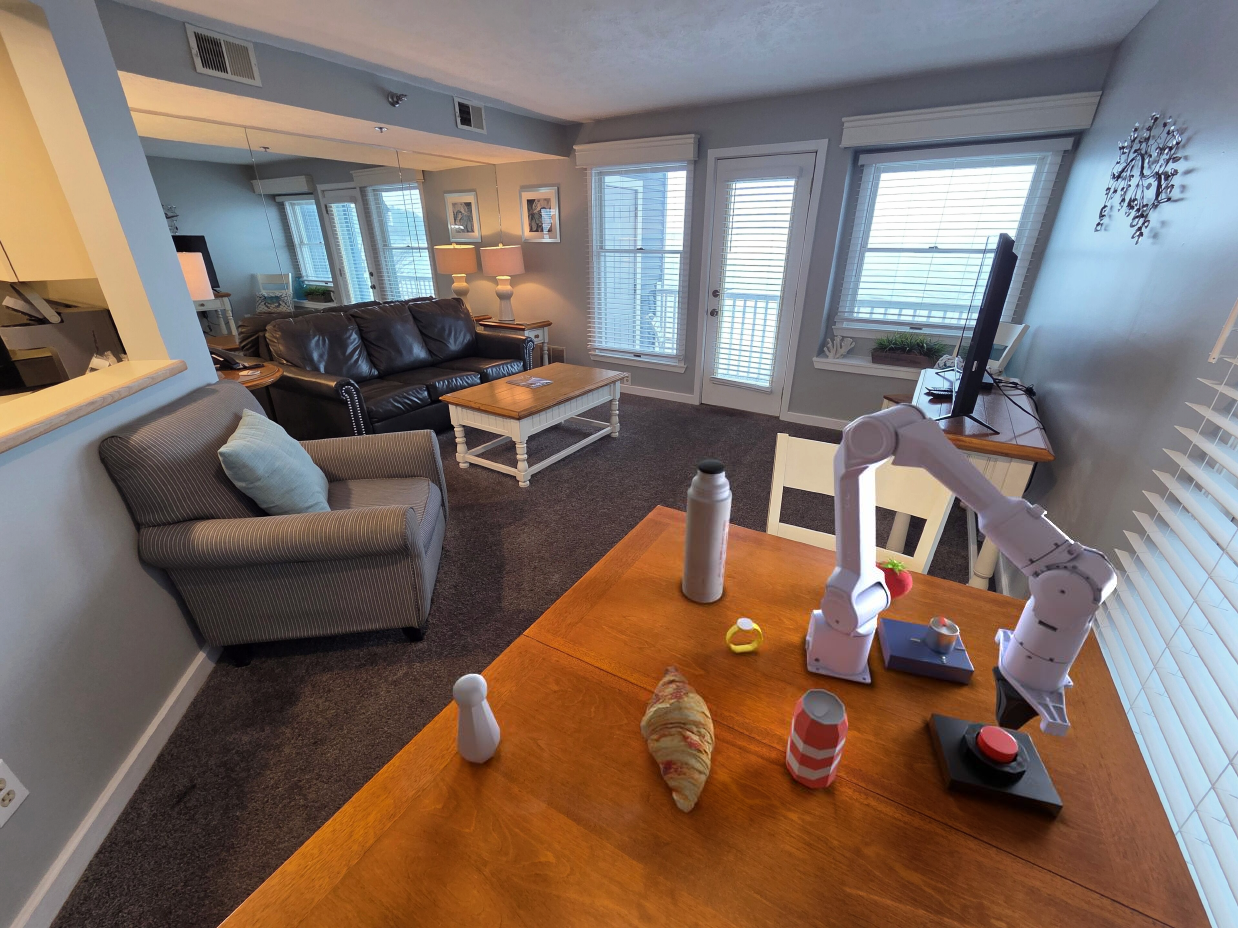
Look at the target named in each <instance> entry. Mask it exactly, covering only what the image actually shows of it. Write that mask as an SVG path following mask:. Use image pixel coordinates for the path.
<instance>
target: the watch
mask: <svg viewBox="0 0 1238 928" xmlns="http://www.w3.org/2000/svg"><path fill="white" fill-rule="evenodd" d="M752 631H756V632H757V636H756V638H755V640H754V641H751V643H749V644H742V645H741V644H740V645H734V644H732V643H731V641H732V638H733V637H734V635H735V634H737V633H738V632H741V633H751V632H752ZM725 640H726V641H725V642H727V645H728V648H729V649H730V650H731V652H733V653H736V654H740V653H741V654H742V653H749V652H754V651H755V650H757V649H758V648H759V647H760V646H761V644H762V642H763V640H764V638H763V632H762V630H761V628H760V627H759V625H758V624H756V623H754V621H752V619H750V618H747V617H741V618H739V619H737V621H736V624H733V625H732V626H731V627H730V628H729V629H728V631H727V632H726V637H725Z"/></svg>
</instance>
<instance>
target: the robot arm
mask: <svg viewBox="0 0 1238 928" xmlns="http://www.w3.org/2000/svg"><path fill="white" fill-rule="evenodd" d="M892 457H893V459H892V461H891V463H890V465H891V466H894V467H905V468H917V469H918V468H919V469H923V470H925V472H927V473H928V474H930V475H931V476H932V477H933V478H934V479H935V480H937V481H938V482H939V483H940V484H941V485H943V486H944V487H945V488H946V489H947V490H948V491H950V492H951V493H952V494H953V495H955V496H956V497H957V498H958V499H959V500H961V502H963V503H964V504H965V505H966V506H968V507H969V508H970V509H971V510H972V511H973V512H975V513H976V514H977V521H978V522H977V523H978V529H979V531H980V532H981V533H982V534H983V535H984V536H985V537H986V538H987V539H988V540H989V541H990V542H991V543H992V544H993V545H994V546H995V547H997V548H998V549H999V550H1000V552H1002V553H1003V555H1005V557H1006V558H1008V559H1009V560H1010V561H1011V562H1012V563H1013V564H1014V565H1015V566H1016V567H1017V568H1018V569H1020V571H1021V572H1023V574H1024V575H1026V576H1027V578H1028V589H1029V591H1030V594H1031V596H1030V599H1028V601H1026V604H1025V605H1024V606H1025V607H1024V608H1023V611H1022V612H1021V615H1020V617H1019V619H1018V622H1017V625H1016V627H1015V629H1014V630H1009V629H1005V628H998V630H997V633H996V635H995V637H994V640H995V643H996V644H997V645H998V646H999V653H998V665H995V666H994V665H993V667H992V668H991V672H992V676H993V678H994V682H995V690H996V691H995V692H996V697H995V698H996V699H995V700H996V701H995V719H996V722H997V724H998V727H999V728H1003V729H1007V730H1012V731H1018V730H1020V729H1021V728H1022V727H1024V725H1026V724H1027V723H1028V722H1030V721H1031V720H1033V719H1034V718H1037V717H1038V716H1040V718H1041V722H1040V724H1039V728H1040V730H1041V732H1042V733H1043V734H1046V735H1050V736H1054V737H1061V738H1065V737H1066V735H1067V733H1068V732H1069V730H1070V728H1071V723H1070V721H1069V719H1068V717H1067V712H1066V700H1065V690H1071V689H1072V688H1073V687H1074V682H1073V681H1072V679H1071V678H1070V676H1069V675H1068V674H1069V671H1070V670H1071V668H1072V666H1073V665H1074V662H1075V660H1076V659H1077V656H1078V654H1079V652H1080V651H1081V649H1082V647H1083V644H1084V643H1085V640H1086V639H1087V637H1088V635H1089V633H1090V632H1091V629H1092V623H1093V622H1094V620H1095V619H1096V617H1097V611H1098V610H1099V609H1100V605H1101V604H1102V603H1103V602H1104V601H1105V600H1106V599H1107V597H1108V596H1109V595H1110V594H1111V593H1112V592H1113V591H1114V589H1115V588H1116V585H1117V583H1118V572H1117V569H1116V567H1115V565H1113V563H1112V562H1111V561H1110V560H1109V559H1108V557H1107V555H1106V554H1105V553H1103V552H1101V551H1099V550H1097V549H1094V548H1092V547H1088V546H1085V545H1082V544H1081V543H1080V542H1079V541H1073V540H1072V539H1070V538H1069V537H1068V536H1067V535H1066V534H1065V533H1064V532H1062V531H1061V530H1060V529H1059V528H1058V527H1057V526H1056V525H1055V524H1054V523H1052V522H1051V521H1050V520H1049V519H1048V518H1046V517H1045V516H1044V515H1046V514H1047V511H1046V509H1044V508H1043V507H1042V506H1040V505H1039V504H1038V503H1035V504H1033V505H1032V504H1030V503H1029V501H1028V500H1026V499H1025V498H1021V497H1013V496H1007V495H1004V493H1002V492H1001V490H999V489H998V487H996V485H994V484H993V483H992V482H991V481H990V479H988V477H987V476H985V475H984V474H983V473H982V472H981V470H979V469H978V468H977V466H976V465H974V463H972V462H971V461H970V460H969V458H967V457H966V455H965V454H964V453H963V452H962V451H961V450H959V448H957V446H956V445H955V444H954V443H953V442H952V441H951V440H950V439H949V438H948V437H947V436H946V434H945V433H944V431H943V429H942V427H941V425H940V423H939V422H938V421H936V420H935V419H934V418H932V417H930V416H929V417H928V415H927V413H926V412H925V411H924V410H923V409H922V408H921V407H920V406H917V405H916V404H913V403H909V402H908V403H906V402H903V403H897V404H895V405H893V406H891V407H889V408H886V409H883V410H880V411H877V412H874V413H871V414H864V415H862V416H860V417H857V418H856V419H855V420H854V421H852V422H851V423H848V425H847V426H845V427H844V428H843V429H842V440H841V442H840V444H839V445H838V447H837V450H836V451H835V454H834V456H833V459H832V462H833V463H832V465H833V491H834V492H833V493H834V526H835V527H834V528H835V529H834V530H835V532H834V533H835V562H836V563H835V564H836V566H835V568H834V570H833V571H832V573H831V574H830V576H829V577H828V579H827V581H826V583H825V587H824V588H825V589H824V590H825V592H824V595H823V597H822V598H821V600H820V609H813V610H812V612H811V615H810V619H809V624H808V629H807V635H806V637H805V650H806V665H807V667H806V668H807V671H808V672H810V673H816V674H819V675H825V676H830V677H834V678H839V679H843V680H848V681H854V682H859V683H863V684H871V681H872V679H871V674H870V670H869V664H868V658H869V654H870V650H871V646H872V643H873V639H874V637H875V632H876V630H877V629H876V628H877V626H878V625H877V622H878V621H877V619H878V616H879V613H881V612H884V611H886V610H887V609H888V607H890V604H891V600H890V594H889V591H888V589H887V587H886V584H885V581H884V573H883V572H882V571H881V570H879V569H878V568H876V567H875V565H876V484H875V483H876V482H875V481H876V480H875V479H876V478H875V477H876V475H875V472H876V469H878V467H880V466H881V465H882V464H884V463H886V462H887V461H888V460H890V459H891V458H892Z"/></svg>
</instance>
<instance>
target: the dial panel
mask: <svg viewBox="0 0 1238 928" xmlns="http://www.w3.org/2000/svg"><path fill="white" fill-rule="evenodd" d="M928 627H929V625H927V624H920V623H915V622H910V621H904V620H898V619H893V618H887V617H880V619H879V622H878V625H877V634H878V638H879V642H880V647H881V652H882V655H883V659H884V660H883V661H884V664H885V667H886V669H891V670H895V671H901V672H906V673H911V674H915V675H921V676H924V677H925V676H926V677H930V678H931V677H932V678H935V679H942V680H946V681H951V682H954V683H959V684H966V685H970V682H971V681H972V678H973V675H974V672H975V668H974V667H973V665H972V663H971V661H970V658H969V655H968V653H967V651H968V650H967V648H965V645H964V643H963V642H962V640H961V636H960V633H958V635H957V638H956V641H955V644H954V646H953V649H952V651H951V652H950V653H939V652H936V651H934V650H932V649H931V648H929V647H928V646H927V645H926V643H925V636H926V633H927V630H928Z"/></svg>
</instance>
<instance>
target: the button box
mask: <svg viewBox="0 0 1238 928" xmlns="http://www.w3.org/2000/svg"><path fill="white" fill-rule="evenodd" d="M928 719H929V720H928V722H927V725H928V728H929V732H930V735H931V738H932V741H933V742H932V743H933V746H934V749H935V752H936V756H937V759H938V763H939V767H940V769H941V773H942V776H943V780H944V783H945V786H946V789H947V790H948V791H953V792H956V793H959V794H963V795H968V796H972V797H976V798H980V799H984V800H988V801H992V802H995V803H1000V804H1004V805H1007V806H1012V807H1016V808H1020V809H1023V810H1028V811H1031V812H1036V813H1040V814H1044V815H1049V816H1050V817H1051V816H1052V817H1056V818H1057V817H1058V816H1059V814H1060V813H1061V811H1062V809H1063V808H1064V804H1063V803H1062V802H1063V801H1061V798H1060V796H1059V794H1058V791H1057V790H1056V788H1055V786H1054V783H1053V782H1052V780H1051V777H1050V775H1049V774H1048V771H1047V770H1046V767H1045V765H1044V763H1043V761H1042V759H1041V757H1040V755H1039V753H1038V751H1037V749H1036V747H1035V744H1034V742H1033V741H1032V739H1031V738H1032V737H1031V736H1030V735H1029V733H1025V732H1020V731H1017V730H1012V729H1007V728H1003V727H999V726H995V725H993V724H988V723H984V722H974V721H969V720H965V719H960V718H957V717H951V716H946V715H942V714H938V713H933V712H931V713H930V717H929V718H928ZM986 726H992V727H996V728H999V729H1001V730H1003V731H1005V732H1006V733H1008V734H1009V735H1010V736H1011V737H1012V738H1013V739H1014V740H1015V741H1016V743H1017V746H1018V751H1017V753H1016V755H1015V757H1014V759H1013V760H1012V761H1011V762H1008V763H1002V762H998V761H996V760H994V759H992V758H991V757H989V756H987V755H986V754H985V753H984V752H983V751H982V750H981V749H980V748H979V746H978V743H977V739H978V736H979V734H980V732H981V729H982V728H984V727H986Z"/></svg>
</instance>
